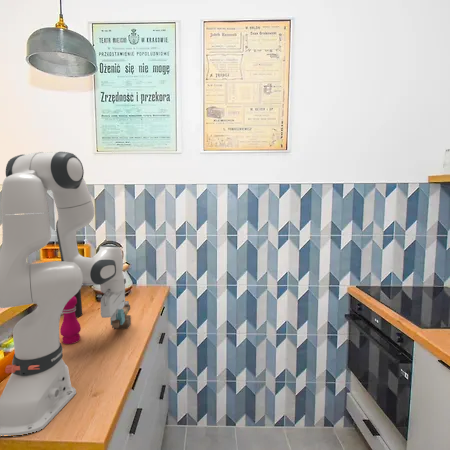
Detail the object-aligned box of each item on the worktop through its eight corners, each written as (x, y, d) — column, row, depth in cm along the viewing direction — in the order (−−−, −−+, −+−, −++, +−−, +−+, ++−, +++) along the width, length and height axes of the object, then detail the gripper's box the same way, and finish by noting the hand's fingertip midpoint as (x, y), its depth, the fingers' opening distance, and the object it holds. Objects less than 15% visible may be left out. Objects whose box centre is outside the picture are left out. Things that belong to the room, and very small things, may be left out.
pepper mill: (73, 345, 121) (69, 295, 118) (56, 344, 122) (52, 294, 120) (85, 336, 128) (81, 289, 125) (69, 335, 129) (65, 288, 127)
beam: (123, 337, 127) (122, 318, 126) (108, 337, 127) (107, 318, 126) (134, 316, 147) (133, 300, 146) (121, 317, 147) (120, 300, 146)
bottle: (85, 315, 150) (82, 274, 147) (70, 320, 145) (67, 277, 142) (78, 311, 154) (75, 271, 152) (64, 316, 149) (60, 275, 147)
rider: (122, 324, 129) (121, 313, 128) (110, 325, 128) (110, 313, 128) (124, 320, 132) (124, 309, 132) (113, 321, 132) (113, 309, 132)
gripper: (112, 294, 114) (114, 330, 116) (127, 277, 134) (128, 308, 136) (94, 294, 114) (97, 331, 115) (111, 278, 134) (113, 309, 136)
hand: (114, 319), depth 126 cm, fingers closed
